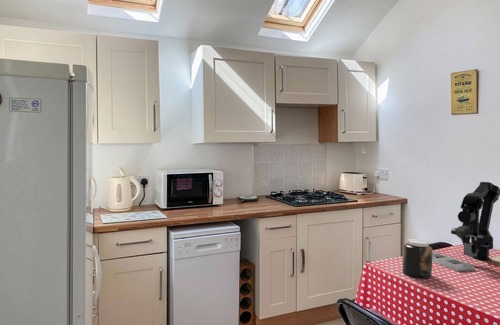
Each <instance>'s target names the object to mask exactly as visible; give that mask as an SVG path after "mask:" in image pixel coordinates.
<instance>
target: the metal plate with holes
mask: <svg viewBox="0 0 500 325" xmlns="http://www.w3.org/2000/svg"><path fill="white" fill-rule="evenodd" d="M432 253H433V254H432V261H433V262H432V263H434V264H435V263H436V264H437V263H438V265H439V266H443V267H445V268H448V269H451V270H453V271H456V272H460V273H462V272H467V271H468V272H469V271H475V270H476V265H474V264H471V263H468V262H467V261H463V260H460V259H457V258H454V257H451V256H448V255H446V254H442V253H440V252H437V251H433V250H432ZM436 257H438V258H436Z"/></svg>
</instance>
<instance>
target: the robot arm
mask: <svg viewBox="0 0 500 325" xmlns="http://www.w3.org/2000/svg"><path fill="white" fill-rule="evenodd" d="M499 197H500V186H498V185H495V184H494V183H493V182H489V181H480V182H479V185H478V186H477V187H476V189H475V190H474V191H473V192H470V193H469V192H468V193H467V194H465V196H464V197H463V198H462V200H461V205H460V209H462V210H461V211H460V212H458V213H457V214H458V215H457V220H458V221H459V222H461V223H462V225H461V226H458V227H452V229H451V230H450V232H451V233H450V234H452V235H455V236H457V237H458V238H459V239H460V240H461V243H462V245H463V246H464V242H472V243H473V253H474V254H475V253H476V252H477V256H475V257H472V258H473V259H476V260H479V261H482V262H483V261H491V260H490V259H492V258H491V257H490V250H493V249H494V237H493V236H492V234H491V231H490V230H489V229H490V223H491V218H492V214H493V209H494V204H495V203H496V202H498V200H499Z"/></svg>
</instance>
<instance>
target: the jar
mask: <svg viewBox="0 0 500 325" xmlns="http://www.w3.org/2000/svg"><path fill="white" fill-rule="evenodd" d="M432 252H433V247H432V246H430V244H429V241H427V240H424V239H420V238H419V239H418V238H408V239H407V242H406V243H404V244H403V253H402V254H403V255H402V273H403V274H404V275H406V277H409V278H410V277H411V278H414V279H419V280H420V279H421V280H428V279H431V278H432V273H433V272H432V271H433V262H432V254H433V253H432Z"/></svg>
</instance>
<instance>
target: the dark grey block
mask: <svg viewBox="0 0 500 325" xmlns="http://www.w3.org/2000/svg"><path fill="white" fill-rule="evenodd" d="M463 256H467V257H470V258H473V257H475V256H477V252H476V253H475V254H474V253H473V243H472V242H471V241H470V242H464V245H463Z"/></svg>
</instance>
